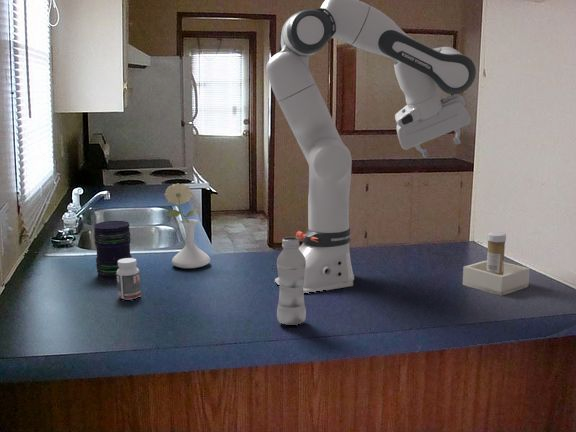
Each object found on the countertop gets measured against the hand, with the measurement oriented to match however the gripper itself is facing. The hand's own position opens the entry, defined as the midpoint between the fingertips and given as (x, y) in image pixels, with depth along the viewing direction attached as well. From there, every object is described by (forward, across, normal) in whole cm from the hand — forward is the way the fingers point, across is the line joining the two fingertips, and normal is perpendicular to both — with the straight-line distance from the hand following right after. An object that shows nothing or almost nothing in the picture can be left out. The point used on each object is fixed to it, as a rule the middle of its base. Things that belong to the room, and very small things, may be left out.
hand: (441, 150), depth 189 cm
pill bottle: (-8, +88, +34) cm, 95 cm away
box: (+31, +1, +26) cm, 41 cm away
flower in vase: (+2, +81, +6) cm, 81 cm away
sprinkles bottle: (+30, +1, +26) cm, 40 cm away
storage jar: (-8, +98, +15) cm, 100 cm away
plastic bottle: (+4, +47, +53) cm, 71 cm away
